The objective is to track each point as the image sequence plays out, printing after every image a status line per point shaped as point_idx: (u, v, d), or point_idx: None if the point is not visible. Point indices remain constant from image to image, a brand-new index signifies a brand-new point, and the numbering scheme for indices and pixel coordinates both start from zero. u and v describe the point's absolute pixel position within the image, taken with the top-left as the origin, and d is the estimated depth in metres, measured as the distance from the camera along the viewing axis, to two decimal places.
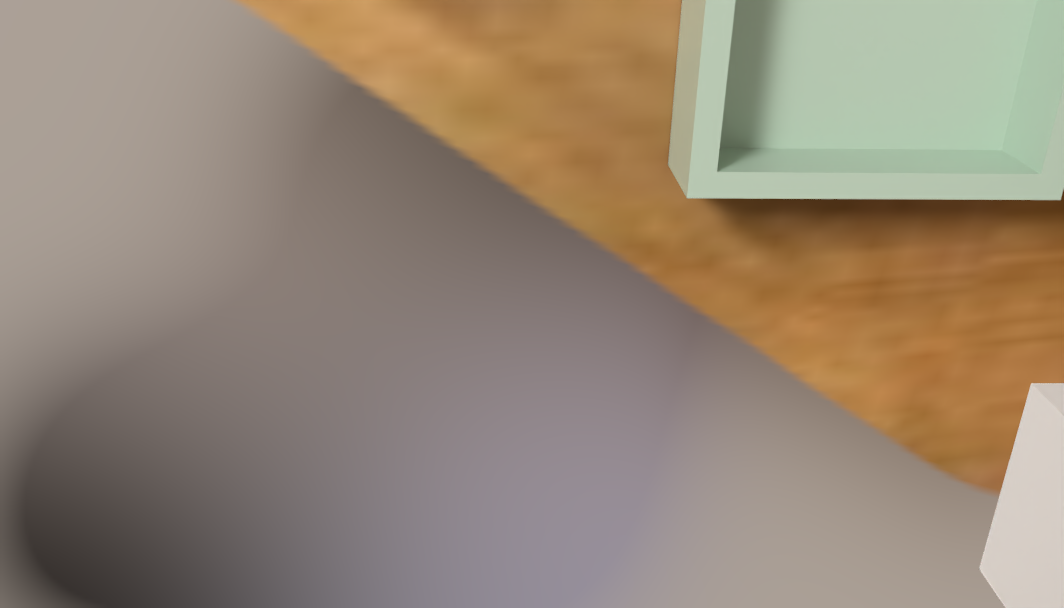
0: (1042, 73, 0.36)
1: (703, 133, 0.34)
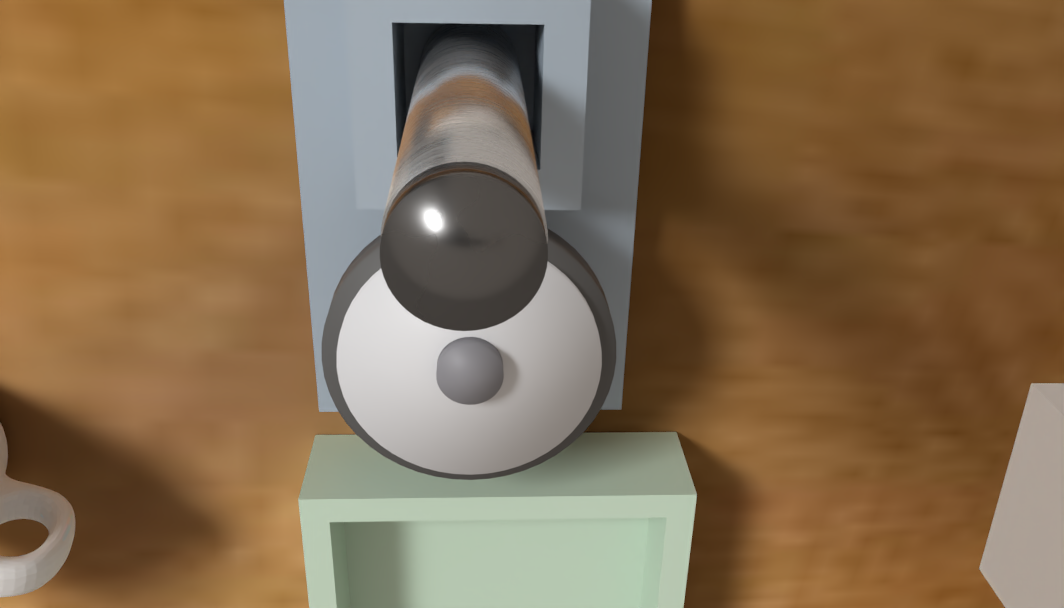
0: None
1: None
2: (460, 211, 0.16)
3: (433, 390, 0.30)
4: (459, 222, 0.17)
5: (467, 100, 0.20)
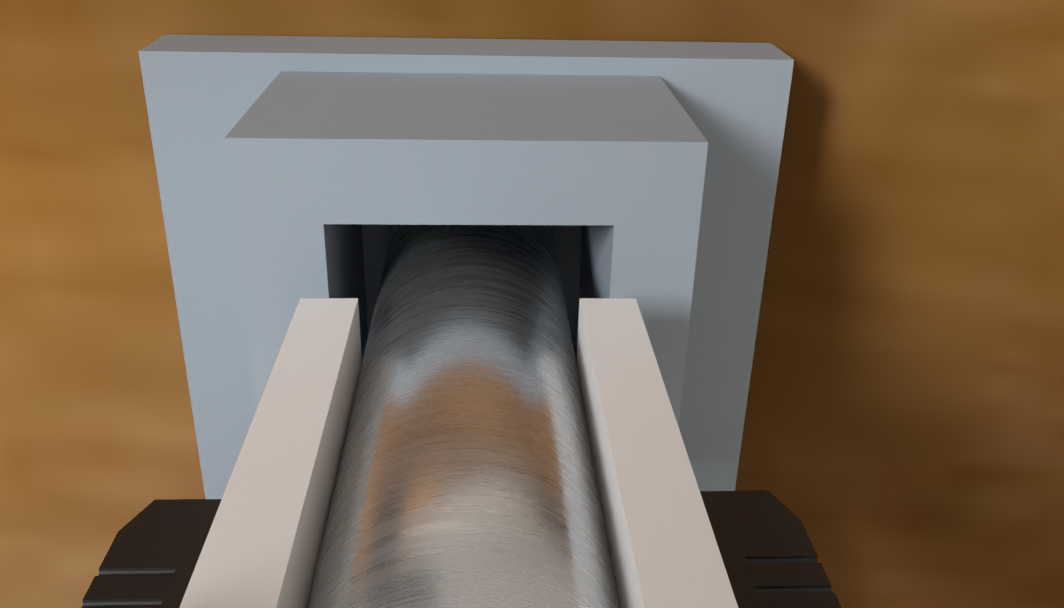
0: None
1: None
2: None
3: None
4: None
5: (465, 536, 0.08)
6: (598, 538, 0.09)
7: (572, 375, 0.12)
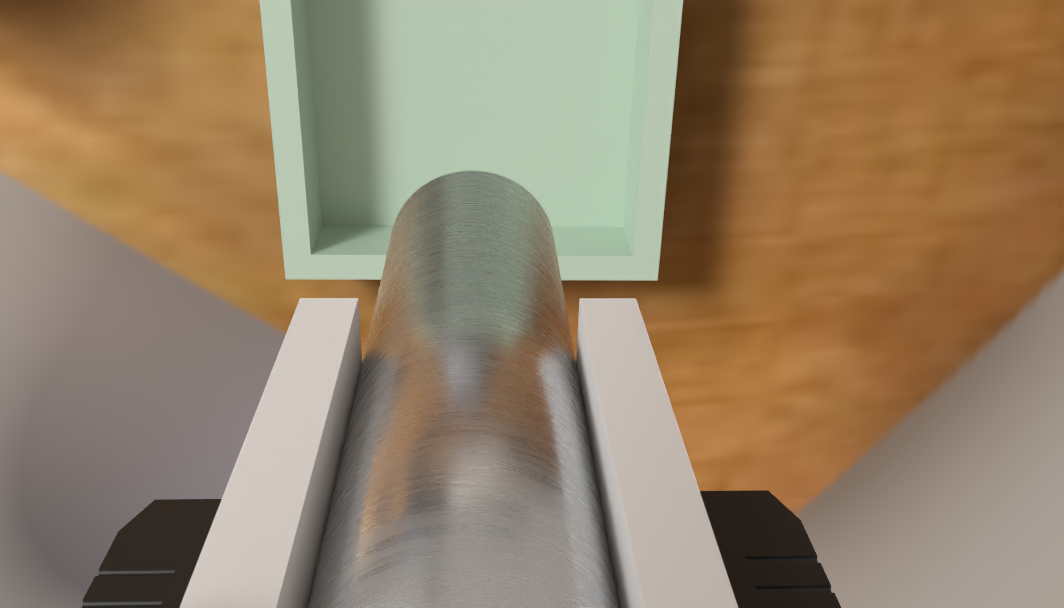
0: (634, 158, 0.37)
1: (290, 218, 0.35)
2: None
3: None
4: None
5: (465, 539, 0.08)
6: (598, 541, 0.09)
7: (572, 377, 0.12)
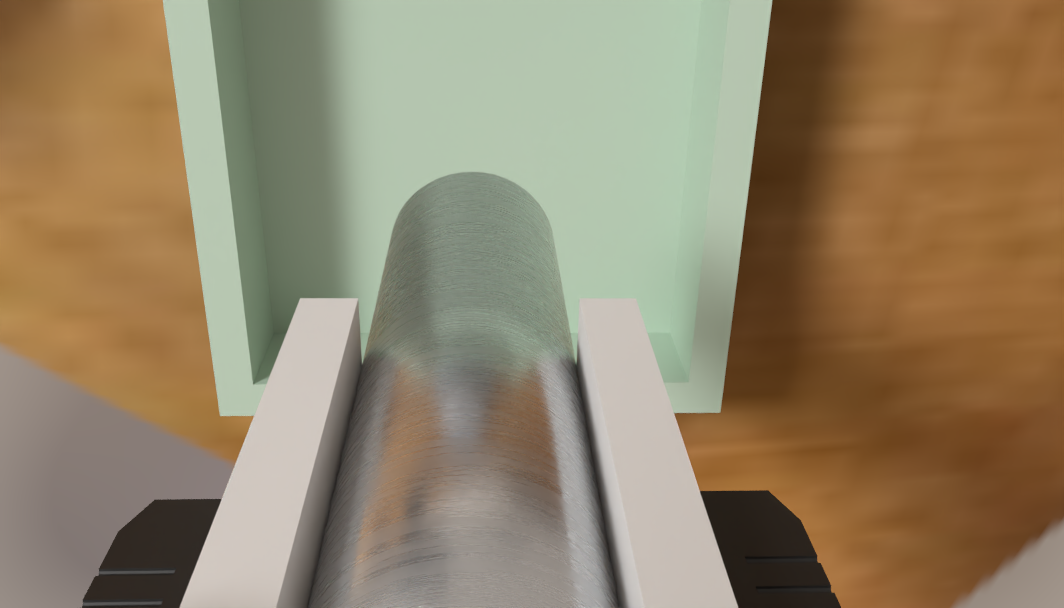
0: (689, 251, 0.27)
1: (223, 338, 0.26)
2: None
3: None
4: None
5: (465, 541, 0.08)
6: (598, 543, 0.09)
7: (572, 378, 0.12)
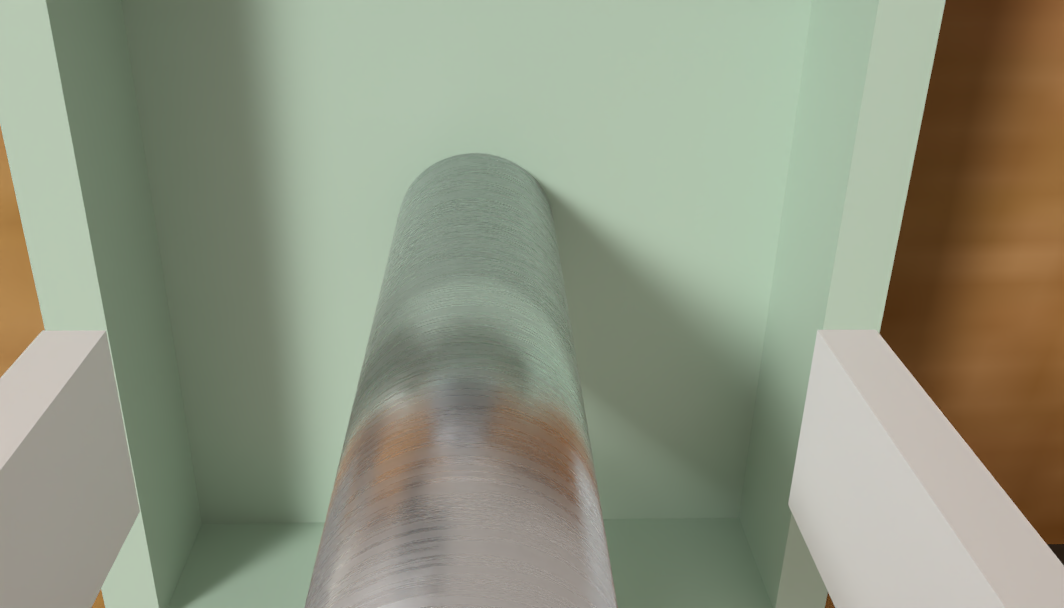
0: (776, 430, 0.19)
1: (116, 565, 0.18)
2: None
3: None
4: None
5: (465, 467, 0.09)
6: (587, 477, 0.10)
7: (567, 338, 0.13)
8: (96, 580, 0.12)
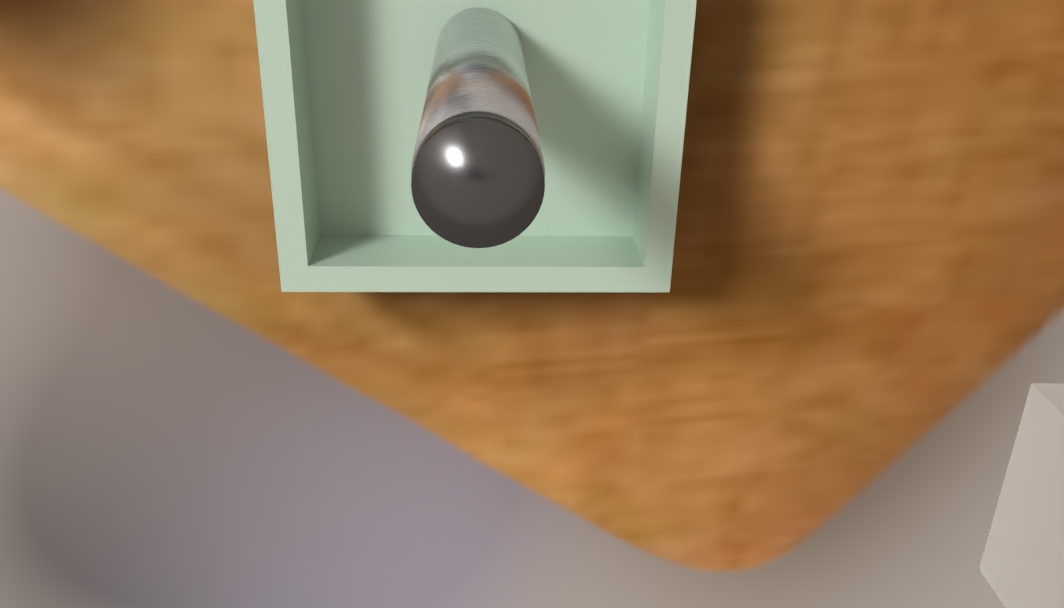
0: (645, 165, 0.35)
1: (286, 228, 0.34)
2: (475, 149, 0.21)
3: None
4: (474, 158, 0.21)
5: (479, 69, 0.25)
6: (527, 90, 0.26)
7: (523, 66, 0.29)
8: None
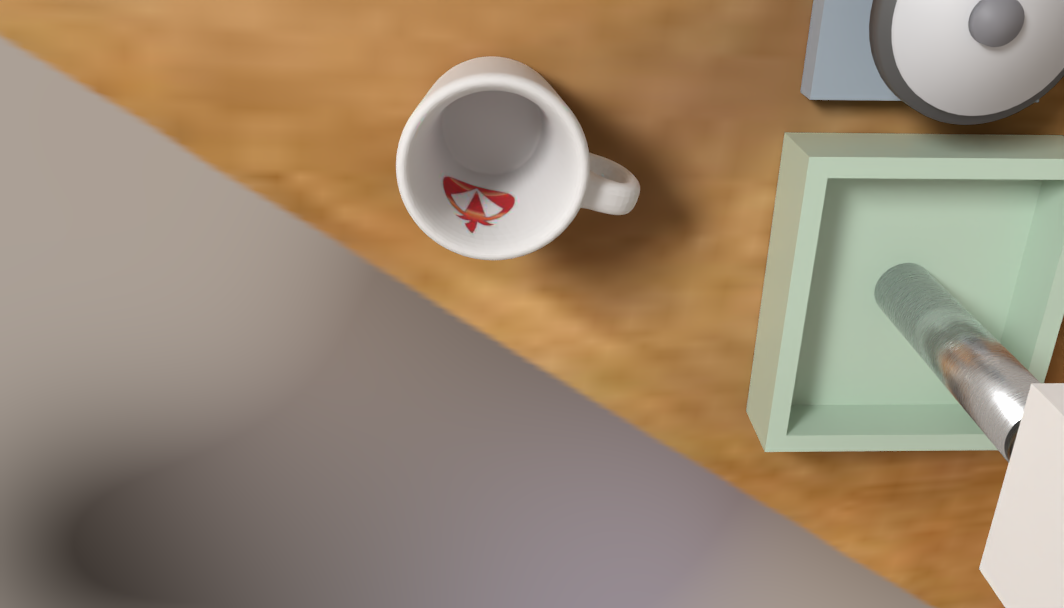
0: None
1: (777, 412, 0.50)
2: None
3: (961, 40, 0.40)
4: None
5: (1002, 357, 0.41)
6: None
7: None
8: None
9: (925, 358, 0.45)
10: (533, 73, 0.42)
